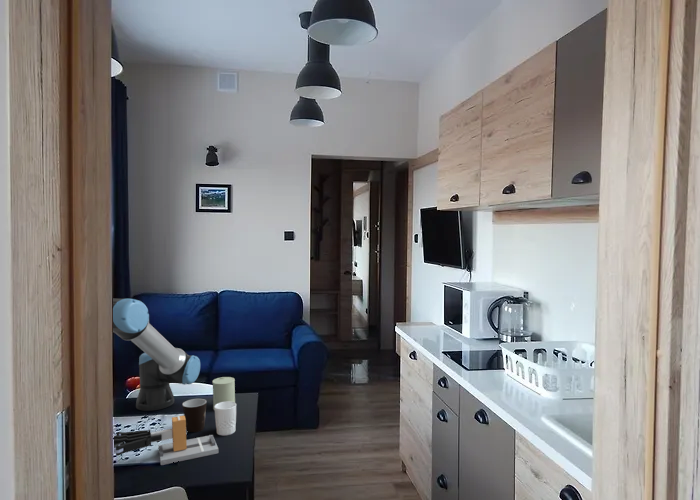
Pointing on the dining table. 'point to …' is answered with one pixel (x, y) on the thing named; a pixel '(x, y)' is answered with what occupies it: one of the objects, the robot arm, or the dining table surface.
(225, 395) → the can
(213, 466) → the dining table surface
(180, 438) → the fader tab
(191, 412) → the coffee mug
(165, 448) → the rail
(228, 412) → the white cup
